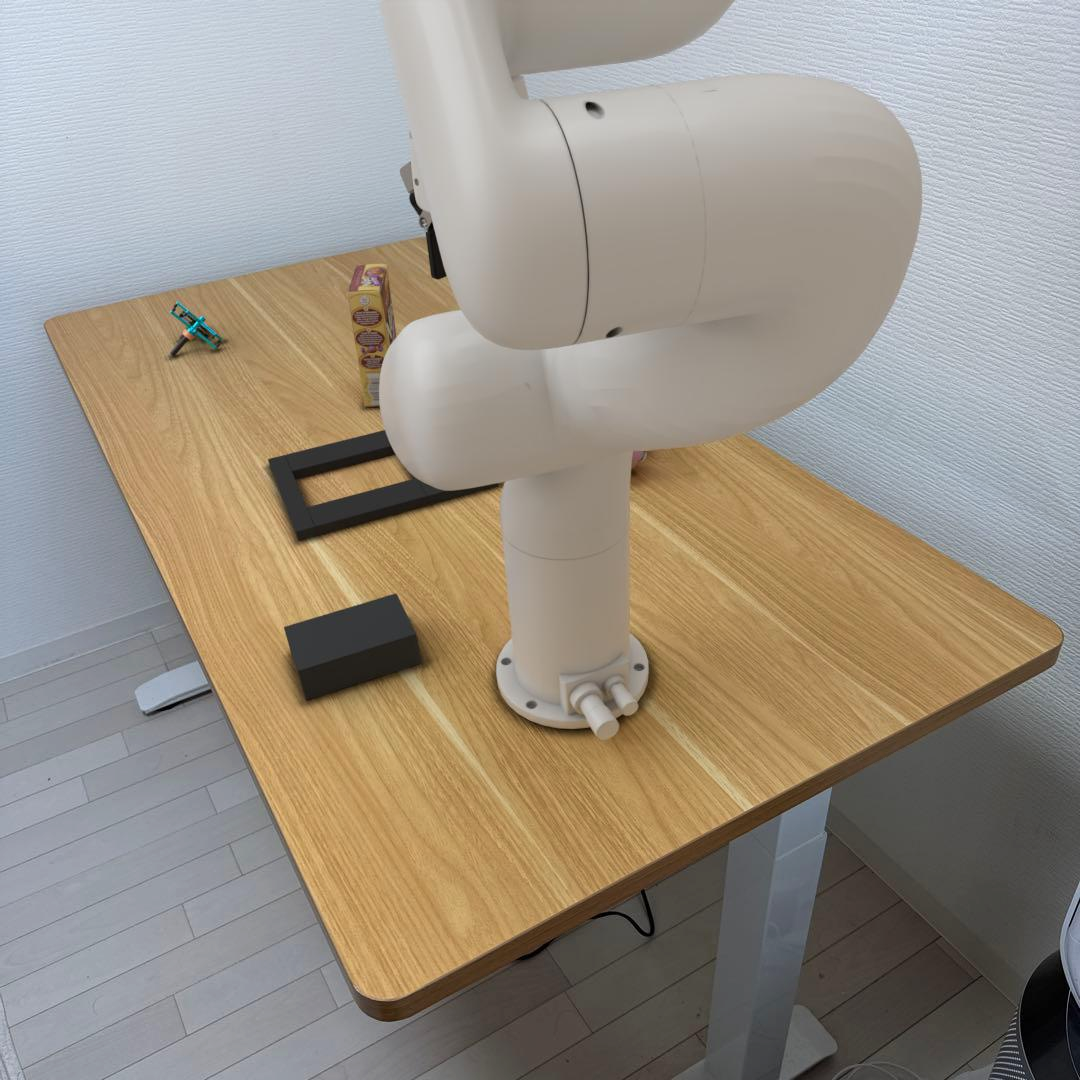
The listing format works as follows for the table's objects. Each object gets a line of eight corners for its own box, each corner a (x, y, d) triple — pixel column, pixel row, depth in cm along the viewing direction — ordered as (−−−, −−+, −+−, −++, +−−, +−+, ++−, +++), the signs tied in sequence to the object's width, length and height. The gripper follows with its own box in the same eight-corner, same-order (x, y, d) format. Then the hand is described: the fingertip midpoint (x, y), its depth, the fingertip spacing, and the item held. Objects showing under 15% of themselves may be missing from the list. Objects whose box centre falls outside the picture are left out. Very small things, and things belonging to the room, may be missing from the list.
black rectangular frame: (499, 485, 104) (498, 476, 103) (298, 541, 98) (295, 531, 97) (451, 422, 116) (450, 413, 116) (269, 467, 110) (267, 458, 109)
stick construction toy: (229, 338, 135) (182, 299, 131) (196, 376, 134) (148, 338, 131) (221, 331, 145) (177, 295, 142) (190, 367, 145) (146, 331, 141)
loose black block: (421, 663, 82) (416, 633, 80) (306, 700, 79) (297, 670, 77) (401, 622, 87) (396, 592, 85) (291, 656, 84) (283, 626, 82)
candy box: (398, 406, 120) (380, 289, 111) (364, 408, 120) (343, 291, 111) (404, 374, 127) (387, 262, 119) (372, 376, 128) (352, 264, 119)
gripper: (350, 57, 72) (385, 279, 82) (516, 74, 62) (533, 324, 72) (425, 41, 76) (449, 253, 86) (591, 54, 66) (598, 293, 76)
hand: (487, 286), depth 79 cm, fingers open, 9 cm apart
